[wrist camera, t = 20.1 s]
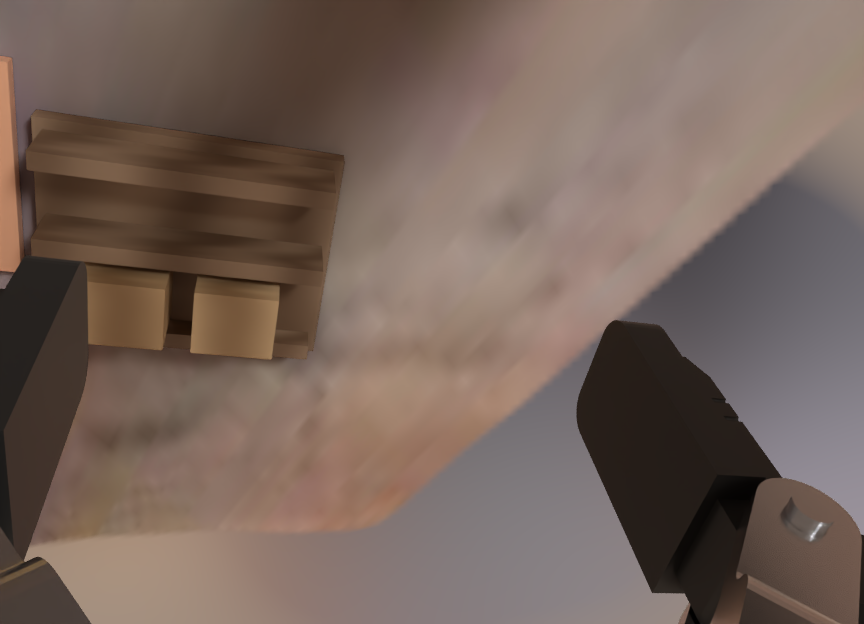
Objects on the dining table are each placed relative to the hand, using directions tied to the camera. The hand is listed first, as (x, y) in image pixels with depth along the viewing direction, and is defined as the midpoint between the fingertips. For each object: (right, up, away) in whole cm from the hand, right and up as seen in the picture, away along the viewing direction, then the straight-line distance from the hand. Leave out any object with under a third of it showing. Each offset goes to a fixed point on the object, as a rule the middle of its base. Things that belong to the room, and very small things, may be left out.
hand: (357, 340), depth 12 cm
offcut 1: (-16, +2, +33) cm, 37 cm away
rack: (-13, +5, +34) cm, 36 cm away
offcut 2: (-10, +2, +35) cm, 36 cm away
